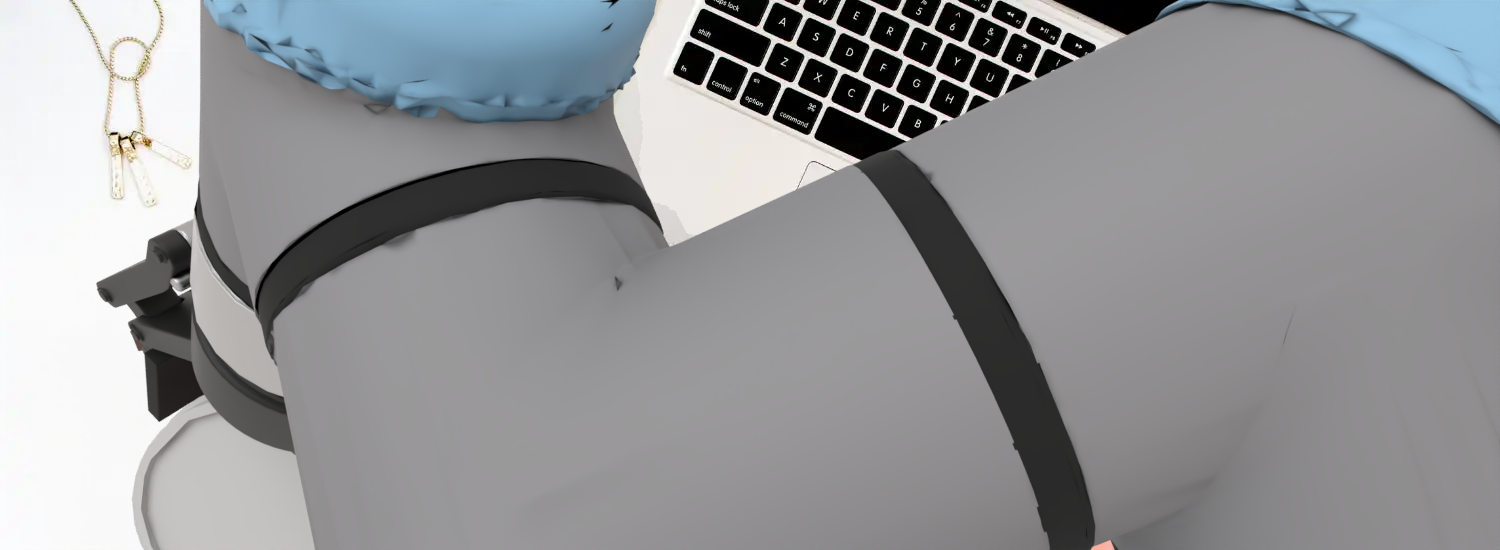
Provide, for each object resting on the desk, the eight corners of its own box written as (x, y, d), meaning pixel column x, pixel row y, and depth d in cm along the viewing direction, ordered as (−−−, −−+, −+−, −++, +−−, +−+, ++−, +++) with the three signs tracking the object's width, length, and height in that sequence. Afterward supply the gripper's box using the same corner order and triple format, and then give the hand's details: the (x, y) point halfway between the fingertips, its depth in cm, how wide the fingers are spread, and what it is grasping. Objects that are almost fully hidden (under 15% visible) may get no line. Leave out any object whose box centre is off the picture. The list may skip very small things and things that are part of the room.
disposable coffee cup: (429, 336, 47) (311, 361, 35) (477, 502, 47) (375, 585, 35) (266, 382, 47) (92, 423, 35) (313, 548, 47) (156, 645, 35)
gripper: (707, 511, 28) (517, 628, 43) (179, -38, 28) (178, 274, 43) (547, 707, 23) (396, 761, 38) (-99, 31, 23) (12, 358, 38)
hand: (280, 502), depth 41 cm, fingers open, 13 cm apart
